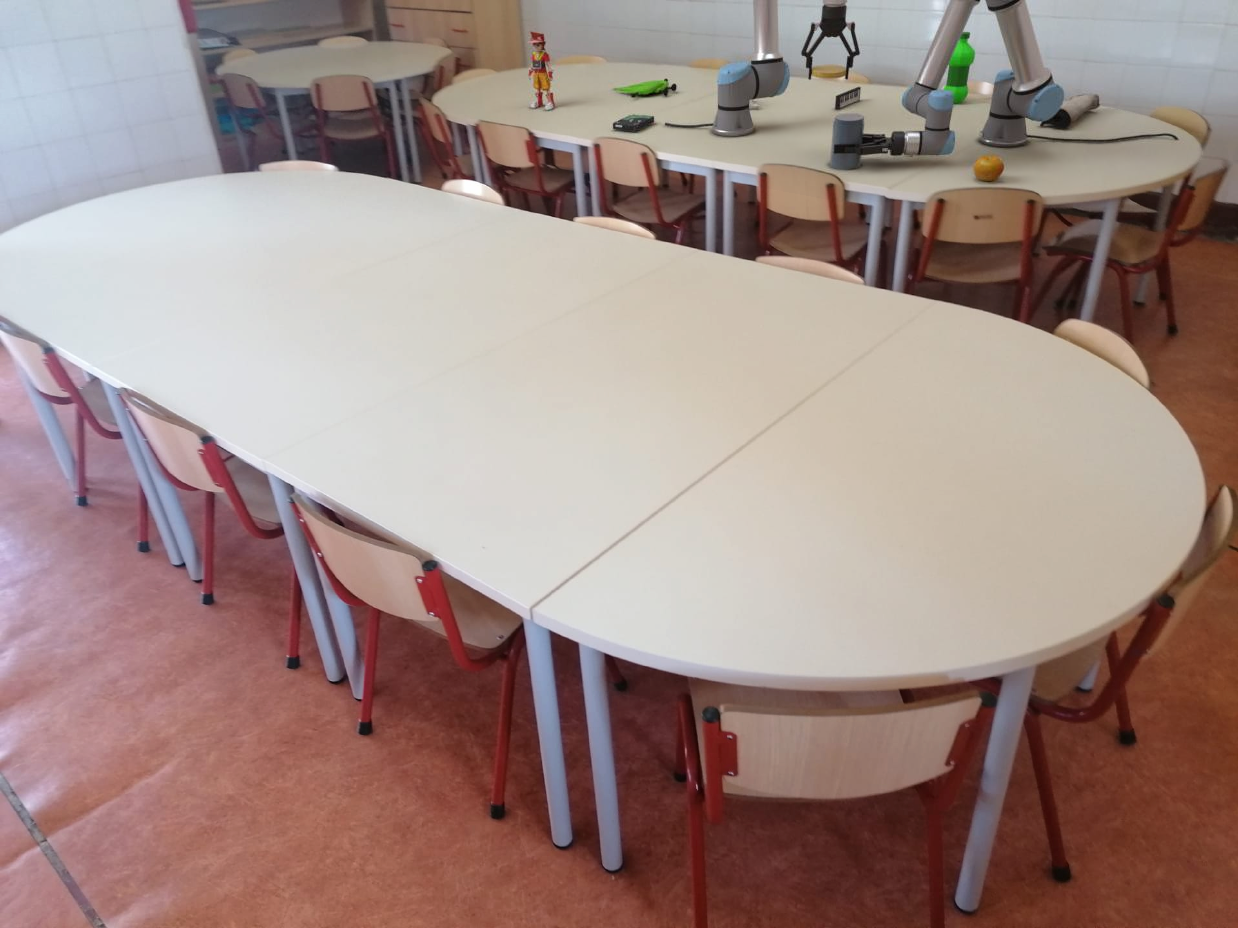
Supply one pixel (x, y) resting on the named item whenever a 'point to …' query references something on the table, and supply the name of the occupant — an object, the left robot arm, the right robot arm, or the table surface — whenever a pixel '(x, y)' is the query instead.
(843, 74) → the lid
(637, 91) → the toy
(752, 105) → the anatomical model
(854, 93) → the midi keyboard
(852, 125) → the jar
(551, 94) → the toy
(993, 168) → the fruit
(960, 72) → the plastic bottle
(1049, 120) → the rolled mat
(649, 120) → the disk drive
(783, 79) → the left robot arm
